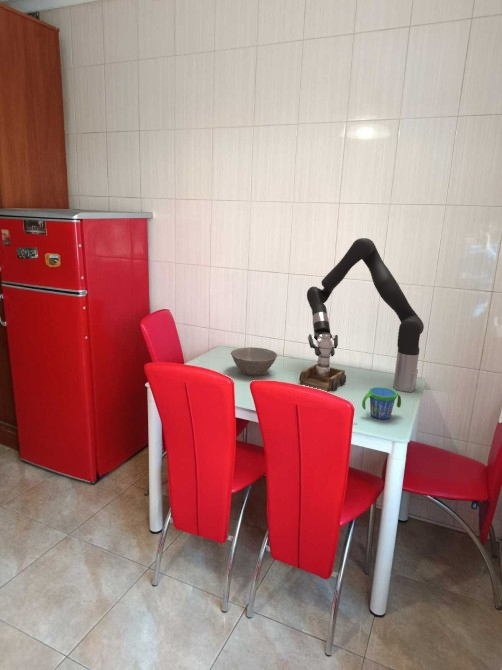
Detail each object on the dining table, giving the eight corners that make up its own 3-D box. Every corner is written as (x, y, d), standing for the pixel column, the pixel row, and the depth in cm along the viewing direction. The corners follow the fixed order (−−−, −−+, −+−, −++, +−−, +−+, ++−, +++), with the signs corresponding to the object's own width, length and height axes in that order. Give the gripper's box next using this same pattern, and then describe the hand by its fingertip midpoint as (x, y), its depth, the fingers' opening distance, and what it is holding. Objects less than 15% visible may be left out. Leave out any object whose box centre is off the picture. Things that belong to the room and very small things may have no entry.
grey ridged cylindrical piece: (321, 378, 210) (325, 336, 205) (312, 374, 216) (316, 332, 211) (332, 377, 213) (336, 335, 208) (323, 372, 219) (327, 331, 214)
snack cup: (365, 421, 176) (368, 396, 173) (356, 410, 186) (359, 386, 184) (404, 421, 178) (408, 396, 175) (394, 410, 188) (397, 387, 185)
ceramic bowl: (244, 363, 241) (245, 344, 238) (284, 372, 229) (285, 352, 227) (220, 374, 222) (221, 354, 220) (262, 384, 211) (263, 363, 208)
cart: (327, 395, 201) (329, 382, 199) (293, 386, 210) (294, 373, 208) (346, 383, 217) (347, 371, 215) (313, 375, 226) (314, 363, 225)
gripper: (307, 319, 214) (311, 351, 206) (338, 320, 216) (343, 351, 208) (304, 327, 221) (308, 359, 212) (333, 328, 222) (338, 359, 214)
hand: (325, 355), depth 210 cm, fingers closed on grey ridged cylindrical piece, 6 cm apart
